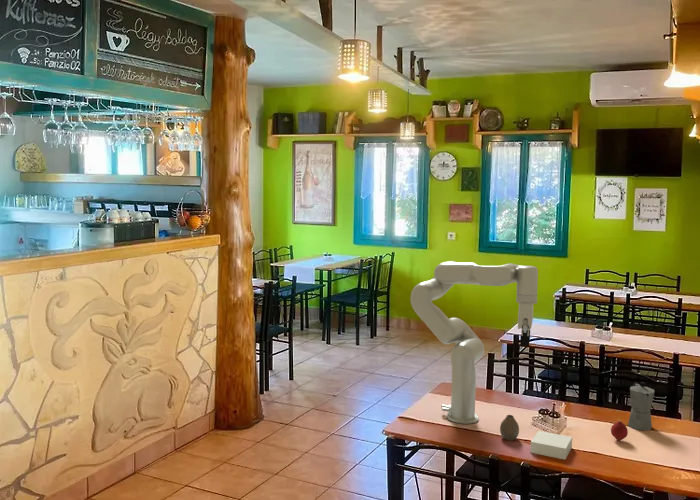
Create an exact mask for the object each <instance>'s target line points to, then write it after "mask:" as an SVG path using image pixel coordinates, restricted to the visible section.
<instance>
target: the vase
mask: <svg viewBox="0 0 700 500" xmlns="http://www.w3.org/2000/svg"><path fill="white" fill-rule="evenodd" d="M499 431H500V435H501V437H502V439H503V440H505V441H509V442H510V441H511V442H512V441H515V440H516V439H517V438H518V436H519V434H520V426H519V423H518V422H517V420H516V419H515V417H514V415H512V414H507V415H506V416H505V418H504V419H503V420H502V422H500V426H499Z"/></svg>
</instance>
